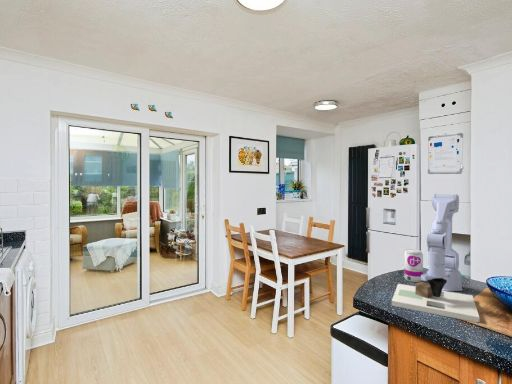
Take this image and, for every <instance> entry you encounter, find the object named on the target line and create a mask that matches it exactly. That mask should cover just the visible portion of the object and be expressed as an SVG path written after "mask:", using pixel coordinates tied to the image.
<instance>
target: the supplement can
mask: <svg viewBox="0 0 512 384" xmlns="http://www.w3.org/2000/svg"><path fill="white" fill-rule="evenodd" d="M403 262H404V263H403V264H404V265H403V266H404V268H403V270H404V271H403V272H404V274H403V275H404V279H405V281H407V282H410V283H420V282H423V280H421V275H424V254H423V253H422V250H419V249H413V248H410V249H409V248H408V249H405V251H404V261H403Z"/></svg>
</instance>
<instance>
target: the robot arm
mask: <svg viewBox="0 0 512 384" xmlns="http://www.w3.org/2000/svg"><path fill="white" fill-rule="evenodd" d="M459 204H460V197H459V195H458V194H456V193H455V194H440V193H439V194H437V193H434V194H433V195H432V197H431V205H432V206H431V207H432V208H433V209H434V211H435V212H436V213H435V219H433V220H432V222H431V227H430V232H429V233H428V234H427V236H426V246H427V252H428V270H427V271H426V273H423V275H421V280H422V282H427V283H428V284H430V287H431V289H432V293H433V296H435V297H440V295H441V292H442V291H447V292H459V291H460V292H461V291H463V288H462V284H463V283H462V277H463V276H462V273H461V271H460V270H459V267H460V257H459V255H460V254H459V253H458V251H456V250H454V249H453V248H452V246H453V245H452V244H453V243H452V242H453V216H454V214H456V213H458V212H459V206H460V205H459Z"/></svg>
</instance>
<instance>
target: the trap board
mask: <svg viewBox="0 0 512 384" xmlns="http://www.w3.org/2000/svg"><path fill="white" fill-rule="evenodd" d="M415 290H416V285H409V284H404V283H403V284H402V283H397V285H396V289H395V290H394V293H393V296H392V299H391V306H392V307H396V308H397V307H398V308H402V309H407V310H412V311H415V312H422V313H427V314H431V315H438V316H443V317H448V318H453V319H457V320H462V321H467V322H472V323H477V322H479V323H480V315H479V312H478V309H477V305H476V303H475V299H474V297H473V295H472V294H464V293H459V292H454V291H442V292H441V295H440V297H435V296H433V297H430V298H425V297H422V296H419V295H416V294H415Z"/></svg>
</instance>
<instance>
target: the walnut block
mask: <svg viewBox="0 0 512 384" xmlns="http://www.w3.org/2000/svg"><path fill="white" fill-rule="evenodd" d="M415 286H416V290H415V294H416V295H419V296H422V297H425V298H430V297H433V293H432V289H431V287H430V284H429V282H426V281H421V282H416V283H415Z"/></svg>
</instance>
